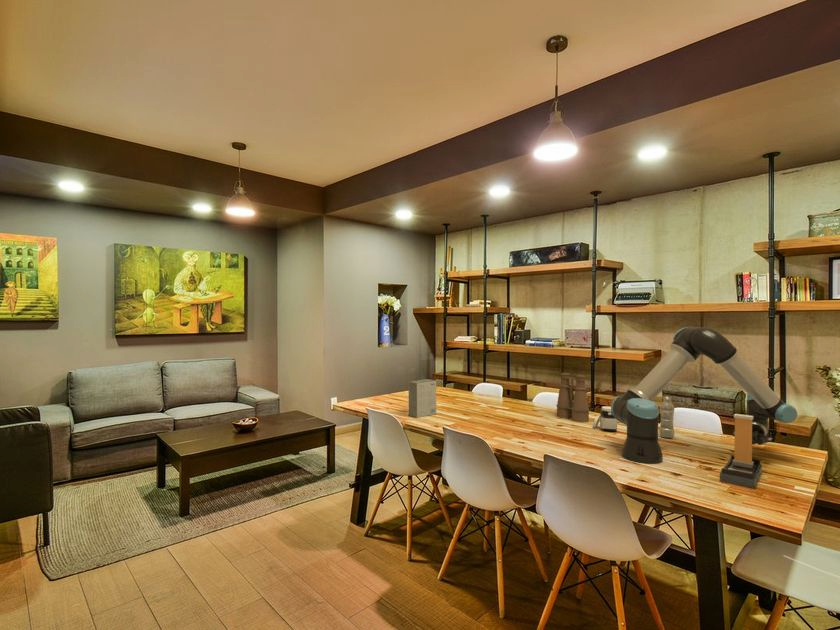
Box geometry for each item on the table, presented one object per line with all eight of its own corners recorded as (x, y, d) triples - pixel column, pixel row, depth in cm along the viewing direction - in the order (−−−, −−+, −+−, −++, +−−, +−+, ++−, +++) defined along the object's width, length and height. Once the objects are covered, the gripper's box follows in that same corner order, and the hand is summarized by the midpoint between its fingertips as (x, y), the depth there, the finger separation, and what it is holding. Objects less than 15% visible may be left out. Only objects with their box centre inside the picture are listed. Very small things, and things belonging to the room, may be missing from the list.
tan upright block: (752, 468, 165) (752, 417, 165) (732, 465, 169) (732, 415, 169) (753, 465, 169) (754, 415, 169) (734, 461, 173) (734, 413, 173)
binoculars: (552, 416, 266) (552, 373, 266) (564, 414, 271) (564, 372, 271) (581, 423, 248) (582, 377, 248) (593, 421, 253) (594, 376, 254)
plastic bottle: (657, 437, 220) (657, 396, 220) (661, 435, 225) (662, 394, 225) (671, 440, 216) (672, 398, 216) (676, 437, 220) (676, 396, 220)
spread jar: (619, 433, 228) (619, 409, 228) (595, 431, 230) (595, 408, 230) (613, 427, 240) (613, 405, 240) (590, 426, 242) (590, 404, 242)
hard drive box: (428, 412, 272) (428, 378, 272) (436, 414, 266) (437, 380, 266) (407, 415, 262) (408, 381, 262) (416, 418, 256) (416, 382, 256)
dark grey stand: (754, 488, 155) (754, 475, 155) (719, 481, 161) (719, 468, 161) (761, 472, 171) (761, 460, 171) (729, 466, 178) (730, 454, 178)
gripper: (773, 444, 188) (768, 457, 170) (735, 438, 196) (726, 450, 179) (774, 426, 188) (768, 437, 170) (735, 421, 196) (726, 430, 179)
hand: (747, 443), depth 174 cm, fingers closed
